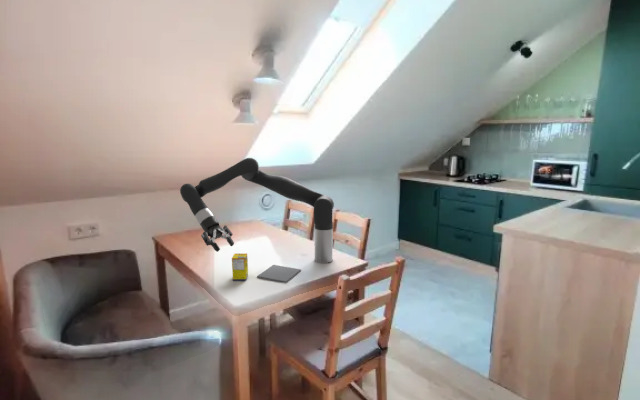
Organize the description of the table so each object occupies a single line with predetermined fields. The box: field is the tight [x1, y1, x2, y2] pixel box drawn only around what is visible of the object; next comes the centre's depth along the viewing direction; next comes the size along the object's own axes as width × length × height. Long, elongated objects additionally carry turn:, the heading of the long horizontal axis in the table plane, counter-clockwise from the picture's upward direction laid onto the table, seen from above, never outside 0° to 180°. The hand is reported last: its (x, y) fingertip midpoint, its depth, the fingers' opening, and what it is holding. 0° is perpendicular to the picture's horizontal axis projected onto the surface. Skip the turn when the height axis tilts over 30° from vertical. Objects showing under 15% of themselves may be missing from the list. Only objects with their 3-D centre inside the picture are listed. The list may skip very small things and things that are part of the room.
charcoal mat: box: [256, 264, 302, 284], centre depth 172 cm, size 15×15×1 cm
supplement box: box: [231, 253, 249, 282], centre depth 166 cm, size 6×6×11 cm
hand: (225, 247), depth 168 cm, fingers open, 8 cm apart
